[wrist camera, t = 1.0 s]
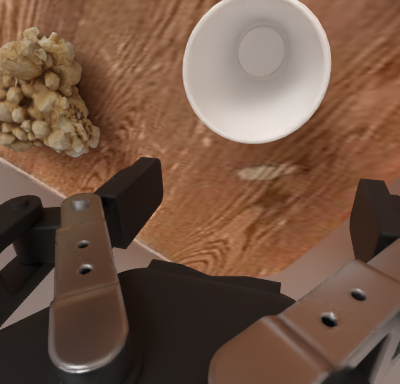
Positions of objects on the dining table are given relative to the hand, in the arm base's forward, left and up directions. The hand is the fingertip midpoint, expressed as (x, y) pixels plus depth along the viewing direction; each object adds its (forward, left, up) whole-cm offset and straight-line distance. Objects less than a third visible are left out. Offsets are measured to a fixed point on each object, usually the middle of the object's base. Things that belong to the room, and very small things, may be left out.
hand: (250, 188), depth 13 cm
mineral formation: (-10, -24, -22) cm, 34 cm away
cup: (-2, 0, -22) cm, 23 cm away
